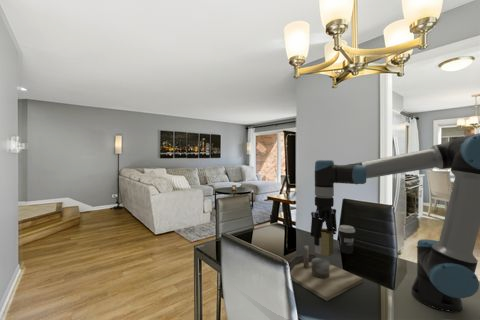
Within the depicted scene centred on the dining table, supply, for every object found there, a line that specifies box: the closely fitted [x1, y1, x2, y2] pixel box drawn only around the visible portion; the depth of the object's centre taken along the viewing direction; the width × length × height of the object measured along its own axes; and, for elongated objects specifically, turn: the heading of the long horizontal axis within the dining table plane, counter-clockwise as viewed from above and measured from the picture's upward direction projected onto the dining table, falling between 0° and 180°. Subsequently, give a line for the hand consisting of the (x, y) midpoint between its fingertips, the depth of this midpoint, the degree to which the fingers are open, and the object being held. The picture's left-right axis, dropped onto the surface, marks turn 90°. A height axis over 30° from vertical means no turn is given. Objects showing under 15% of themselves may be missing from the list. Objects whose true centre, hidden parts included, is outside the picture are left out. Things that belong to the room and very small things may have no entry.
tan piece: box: [316, 227, 334, 257], centre depth 97 cm, size 7×7×9 cm
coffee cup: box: [337, 224, 356, 255], centre depth 138 cm, size 10×10×15 cm
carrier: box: [287, 244, 364, 302], centre depth 109 cm, size 28×26×12 cm
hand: (324, 250), depth 97 cm, fingers closed on tan piece, 7 cm apart
